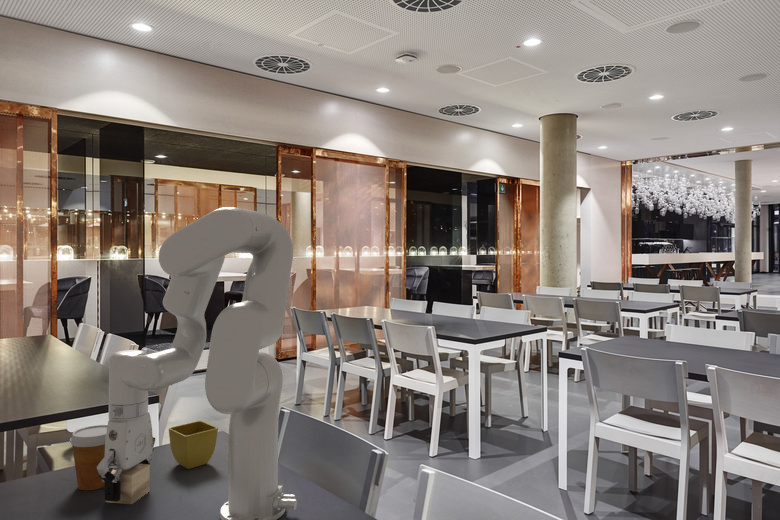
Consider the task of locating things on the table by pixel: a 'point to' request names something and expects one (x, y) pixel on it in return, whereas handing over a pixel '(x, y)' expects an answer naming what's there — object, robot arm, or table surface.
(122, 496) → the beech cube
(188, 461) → the flower pot
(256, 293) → the robot arm
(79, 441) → the disposable coffee cup
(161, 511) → the table surface
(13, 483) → the table surface
